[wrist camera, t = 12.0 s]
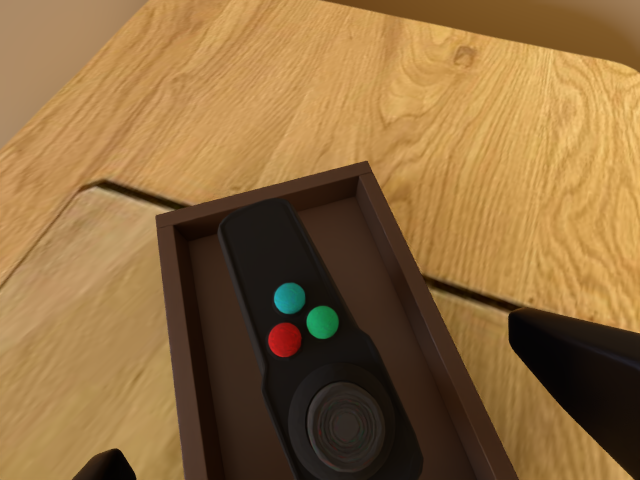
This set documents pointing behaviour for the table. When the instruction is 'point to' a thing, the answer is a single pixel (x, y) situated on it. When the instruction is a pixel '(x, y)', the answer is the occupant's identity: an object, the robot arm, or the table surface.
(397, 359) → the tray
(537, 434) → the table surface
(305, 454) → the controller
